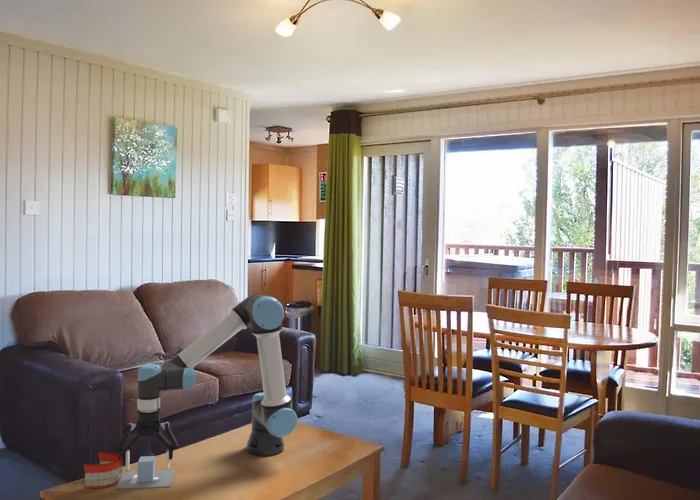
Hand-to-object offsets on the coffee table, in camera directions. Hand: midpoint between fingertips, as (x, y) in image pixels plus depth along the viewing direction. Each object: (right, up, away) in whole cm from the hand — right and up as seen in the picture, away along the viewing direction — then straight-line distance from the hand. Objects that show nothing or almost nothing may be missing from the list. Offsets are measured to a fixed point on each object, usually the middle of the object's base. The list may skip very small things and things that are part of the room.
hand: (147, 469), depth 206 cm
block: (-1, -3, 0) cm, 3 cm away
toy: (-13, -3, -3) cm, 14 cm away
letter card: (0, -3, 0) cm, 4 cm away
